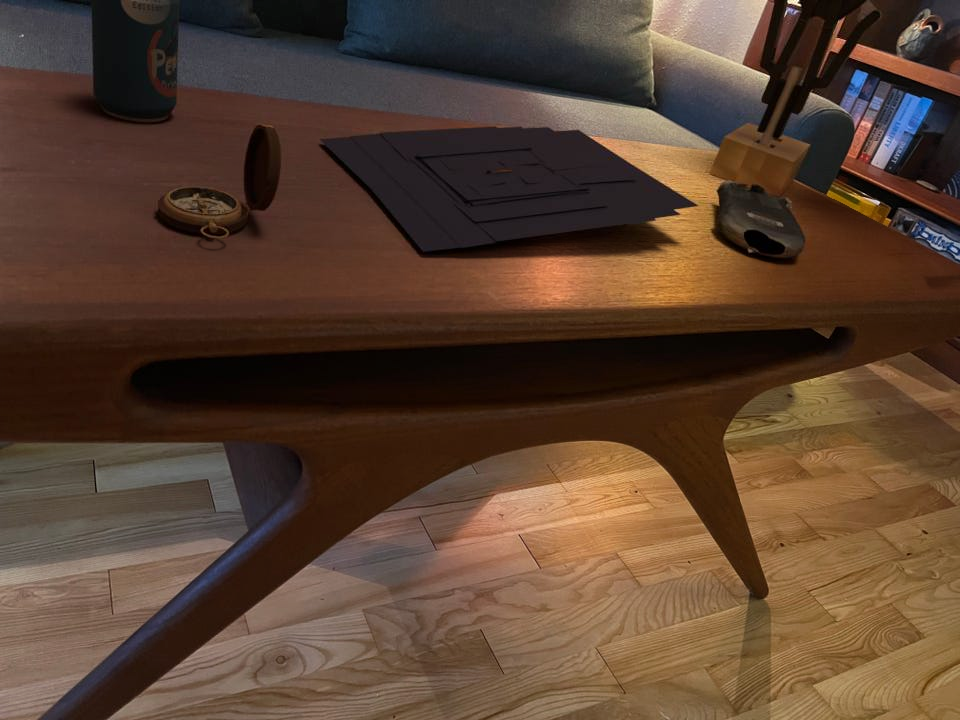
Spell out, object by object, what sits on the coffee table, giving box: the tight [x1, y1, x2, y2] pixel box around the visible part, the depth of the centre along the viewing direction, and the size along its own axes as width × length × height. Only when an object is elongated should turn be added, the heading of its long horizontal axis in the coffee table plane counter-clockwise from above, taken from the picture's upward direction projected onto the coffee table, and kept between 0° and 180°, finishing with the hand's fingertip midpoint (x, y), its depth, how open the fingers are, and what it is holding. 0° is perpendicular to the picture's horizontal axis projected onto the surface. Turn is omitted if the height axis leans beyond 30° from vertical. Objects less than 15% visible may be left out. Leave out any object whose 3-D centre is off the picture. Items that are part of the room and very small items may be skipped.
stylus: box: [759, 65, 804, 147], centre depth 101 cm, size 1×1×15 cm
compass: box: [155, 123, 282, 240], centre depth 55 cm, size 8×8×7 cm
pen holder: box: [709, 122, 811, 197], centre depth 106 cm, size 9×15×5 cm, turn 151°
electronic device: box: [716, 180, 806, 259], centre depth 84 cm, size 9×6×15 cm
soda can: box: [90, 0, 180, 123], centre depth 69 cm, size 7×7×12 cm
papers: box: [319, 126, 699, 253], centre depth 75 cm, size 24×30×4 cm
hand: (769, 133), depth 102 cm, fingers closed on stylus
